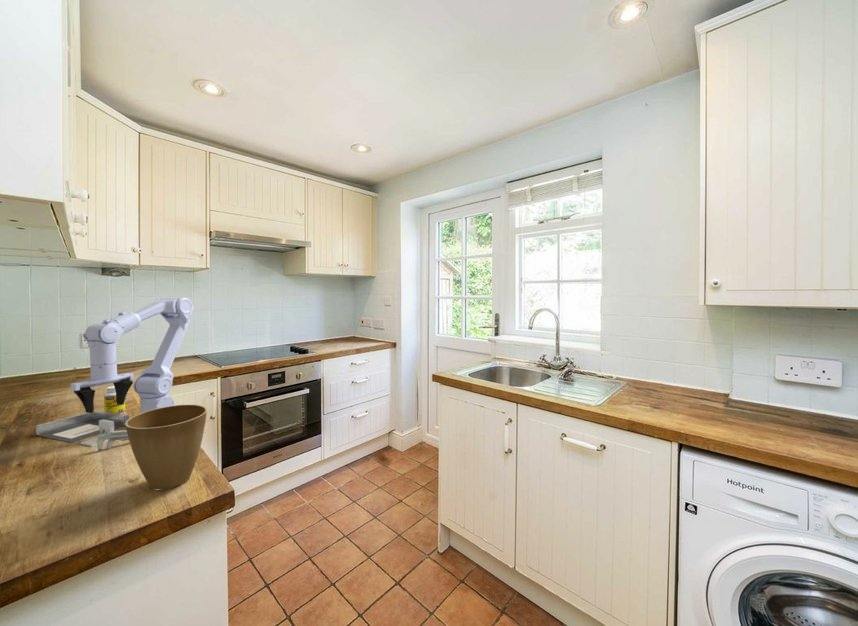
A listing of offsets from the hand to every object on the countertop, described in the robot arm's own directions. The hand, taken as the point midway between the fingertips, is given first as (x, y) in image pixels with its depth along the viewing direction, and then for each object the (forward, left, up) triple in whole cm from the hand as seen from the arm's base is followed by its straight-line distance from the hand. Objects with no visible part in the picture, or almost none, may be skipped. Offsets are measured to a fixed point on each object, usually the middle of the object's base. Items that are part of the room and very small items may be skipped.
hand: (105, 408), depth 102 cm
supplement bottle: (+22, -15, -10) cm, 28 cm away
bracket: (0, +2, -9) cm, 10 cm away
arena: (+15, -2, -9) cm, 18 cm away
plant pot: (-43, +11, -10) cm, 45 cm away
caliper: (-12, -3, -10) cm, 15 cm away
